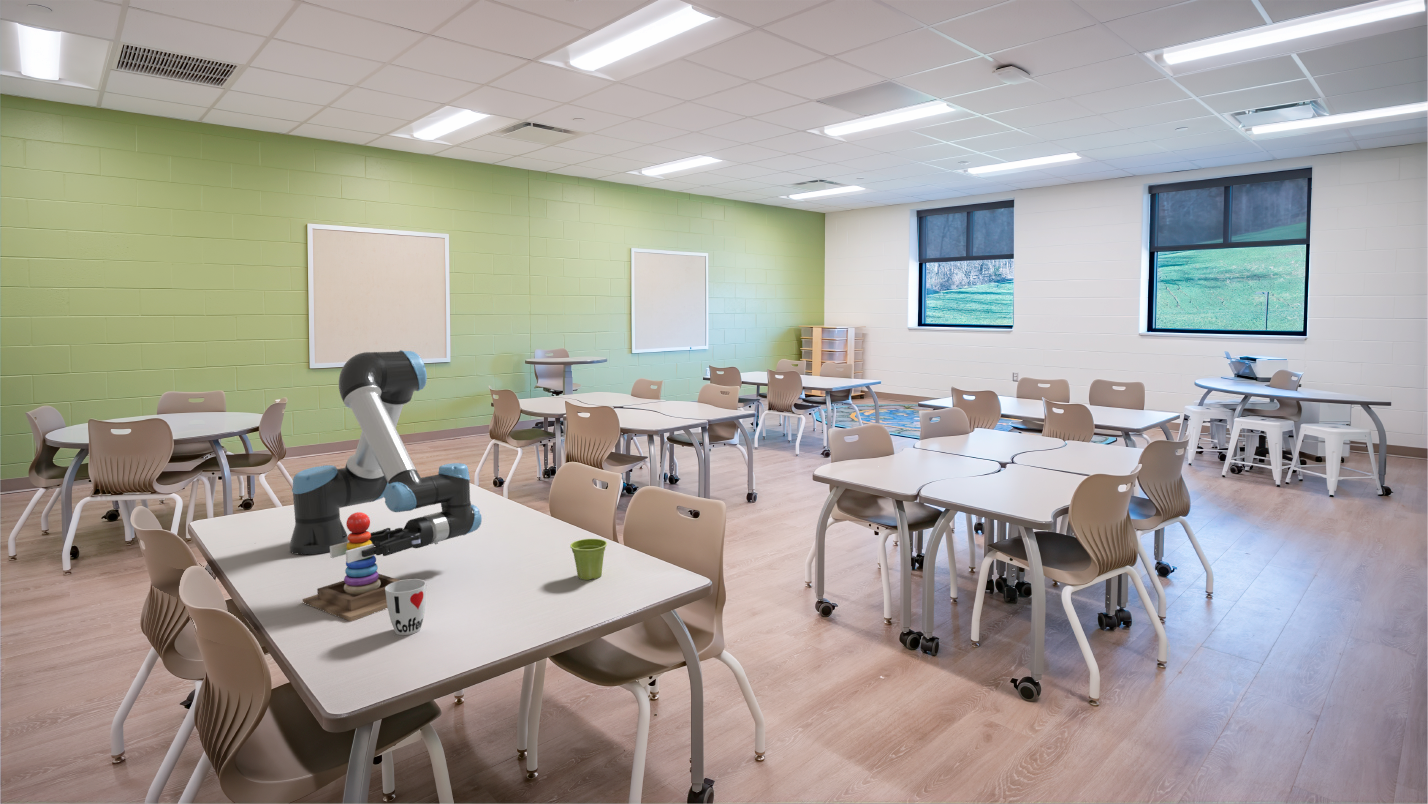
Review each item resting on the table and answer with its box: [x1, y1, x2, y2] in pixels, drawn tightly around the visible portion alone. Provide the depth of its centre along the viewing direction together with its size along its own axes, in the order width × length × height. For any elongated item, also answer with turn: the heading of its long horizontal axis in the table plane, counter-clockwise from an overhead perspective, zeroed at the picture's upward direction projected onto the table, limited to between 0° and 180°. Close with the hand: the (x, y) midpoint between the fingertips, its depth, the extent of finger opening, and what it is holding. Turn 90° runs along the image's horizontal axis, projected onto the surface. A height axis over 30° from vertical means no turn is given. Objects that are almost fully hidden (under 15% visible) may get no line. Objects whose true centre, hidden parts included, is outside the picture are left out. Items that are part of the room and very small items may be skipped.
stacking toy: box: [343, 511, 381, 594], centre depth 176 cm, size 8×8×19 cm
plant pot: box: [569, 538, 608, 581], centre depth 192 cm, size 9×9×9 cm
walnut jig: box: [302, 573, 402, 622], centre depth 177 cm, size 20×18×4 cm
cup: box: [385, 578, 427, 636], centre depth 159 cm, size 8×8×10 cm
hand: (339, 554), depth 172 cm, fingers closed on stacking toy, 6 cm apart
